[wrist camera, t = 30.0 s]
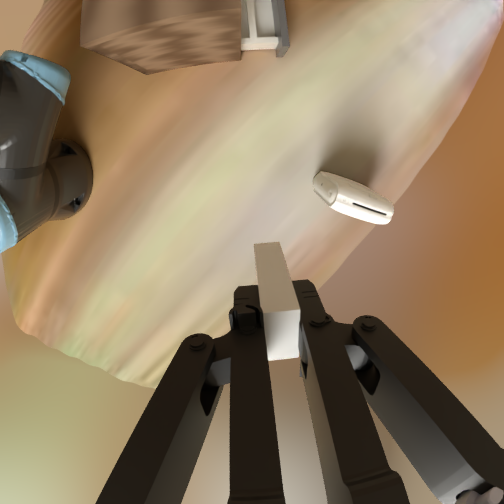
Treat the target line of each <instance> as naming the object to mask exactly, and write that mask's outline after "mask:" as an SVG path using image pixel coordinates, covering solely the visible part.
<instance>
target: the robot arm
mask: <svg viewBox="0 0 504 504" xmlns="http://www.w3.org/2000/svg"><path fill="white" fill-rule="evenodd" d="M70 81H71V76H70V73H69V71H68V70H67V69H66V68H64V67H62V66H60V65H58V64H56V63H53V62H51V61H48V60H46V59H43V58H40V57H37V56H33V55H28V54H25V53H22V52H18V51H13V50H8V51H5V52H4V53H3V54H2V56H0V253H1V252H3V251H5V250H6V249H8V248H9V247H13V246H14V245H15V244H16V243H18V242H19V241H20V240H22V239H23V238H24V237H26V236H27V235H28V234H30V233H31V232H32V231H34V230H35V229H36V228H38V227H39V226H41V225H42V224H44V223H45V222H46V221H52V220H64V219H67V218H69V217H71V216H73V215H75V214H76V213H78V212H79V211H80V210H81V209H82V208H83V207H84V206H85V205H86V203H87V201H88V199H89V197H90V194H91V191H92V184H93V174H92V168H91V164H90V161H89V158H88V156H87V155H86V153H85V151H84V150H83V149H82V148H81V147H80V146H79V145H78V144H77V143H75V142H74V141H72V140H69V139H56V140H52V139H53V135H54V131H55V128H56V124H57V121H58V118H59V115H60V111H61V108H62V105H64V104H65V97H66V93H67V90H68V87H69V84H70ZM254 252H255V265H256V277H257V285H250V286H238V288H237V289H236V290H235V292H234V307H233V308H232V309H231V310H230V312H229V320H230V326H231V330H230V331H229V332H228V333H227V334H225V335H224V336H221V337H219V338H215V339H212V337H210V336H209V335H207V334H203V333H201V334H193V335H190V336H188V337H187V338H185V339H184V340H183V342H182V343H181V345H180V347H179V348H178V350H177V352H176V354H175V356H174V357H173V359H172V361H171V363H170V365H169V366H168V368H167V370H166V372H165V374H164V376H163V377H162V379H161V381H160V383H159V385H158V386H157V388H156V390H155V392H154V394H153V396H152V398H151V400H150V401H149V403H148V405H147V407H146V408H145V410H144V412H143V414H142V416H141V418H140V420H139V421H138V423H137V425H136V427H135V429H134V431H133V433H132V434H131V437H130V438H129V440H128V442H127V444H126V446H125V448H124V450H123V452H122V453H121V455H120V457H119V459H118V461H117V463H116V465H115V467H114V469H113V470H112V473H111V474H110V476H109V478H108V480H107V482H106V484H105V486H104V488H103V490H102V492H101V494H100V496H99V498H98V500H97V502H96V504H181V502H182V499H183V496H184V494H185V491H186V488H187V486H188V483H189V481H190V478H191V475H192V473H193V470H194V467H195V465H196V462H197V459H198V457H199V454H200V451H201V448H202V446H203V443H204V440H205V437H206V435H207V432H208V429H209V426H210V423H211V421H212V418H213V415H214V412H215V409H216V407H217V404H218V401H219V398H220V396H221V393H222V390H223V386H224V385H225V384H228V383H230V496H229V499H228V503H227V504H286V503H285V497H284V492H283V484H282V475H281V467H280V458H279V449H278V441H277V432H276V423H275V415H274V406H273V398H272V389H271V381H270V372H269V364H268V361H269V360H279V359H288V358H297V357H299V353H300V357H301V362H300V377H302V376H303V381H304V386H305V389H306V395H307V400H308V404H309V408H310V413H311V419H312V423H313V428H314V433H315V438H316V443H317V447H318V453H319V458H320V463H321V468H322V474H323V479H324V484H325V489H326V495H327V501H328V504H410V503H409V499H408V496H407V493H406V490H405V486H404V483H403V481H402V478H401V477H400V475H399V474H398V473H397V472H395V471H393V470H391V469H390V467H389V465H388V462H387V459H386V456H385V453H384V450H383V447H382V444H381V441H380V439H379V435H378V432H377V430H376V427H375V424H374V421H373V418H372V416H371V413H370V410H369V407H368V405H367V402H368V404H369V405H370V406H371V408H372V409H373V411H374V412H375V413H376V415H377V416H378V418H379V419H380V420H381V422H382V423H383V424H384V426H385V427H386V429H387V430H388V431H389V433H390V434H391V435H392V437H393V438H394V439H395V441H396V442H397V444H398V445H399V447H400V448H401V449H402V451H403V452H404V454H405V455H406V457H407V458H408V459H409V461H410V462H411V464H412V465H413V466H414V468H415V469H416V471H417V472H418V473H419V475H420V476H421V478H422V479H423V480H424V482H425V483H426V485H427V486H428V487H429V489H430V490H431V491H432V493H433V494H434V495H435V496H436V497H437V499H438V500H440V501H441V502H442V503H443V504H504V449H502V448H500V446H499V445H498V444H497V443H496V442H495V440H494V439H493V438H492V437H491V436H490V435H489V433H488V432H487V431H486V430H485V429H484V428H483V427H482V425H481V424H480V423H479V422H478V421H477V420H476V419H475V418H474V416H472V414H471V413H470V412H469V411H468V410H467V409H466V408H465V407H464V405H463V404H462V403H461V402H460V401H459V400H458V399H457V398H456V397H455V396H454V395H453V394H452V392H451V391H450V390H449V389H448V388H447V387H446V386H445V385H444V384H443V383H442V382H441V381H440V380H439V379H438V378H437V377H436V375H435V374H434V373H432V371H431V370H430V369H429V368H428V367H427V366H426V365H425V364H424V363H423V362H422V361H421V360H420V359H419V358H418V357H417V356H416V355H415V354H414V353H413V352H412V351H411V350H410V349H409V348H408V347H407V346H406V345H405V344H404V343H403V342H402V341H401V340H400V339H399V338H398V337H397V336H396V335H395V334H394V333H393V332H392V331H391V330H390V329H389V328H388V327H387V326H386V325H385V324H384V323H383V322H382V321H381V320H380V319H378V318H376V317H374V316H367V315H364V316H360V317H358V318H356V319H355V320H354V322H353V324H343V323H338V322H335V321H334V320H333V318H332V317H331V316H330V315H328V314H327V313H326V312H325V310H324V307H323V305H322V303H321V300H320V298H319V295H318V293H317V291H316V288H315V286H314V284H313V283H312V282H310V281H309V280H308V279H307V280H297V281H291V277H290V274H289V271H288V268H287V264H286V261H285V258H284V255H283V252H282V249H281V246H280V242H272V243H260V244H254ZM366 401H367V402H366Z"/></svg>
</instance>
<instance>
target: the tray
mask: <svg viewBox="0 0 504 504" xmlns="http://www.w3.org/2000/svg"><path fill="white" fill-rule="evenodd" d="M241 8H242V10H241V50H258V49H276V57H283V56H284V54H285V53H286V51H287V50H288V48H289V47H290V44H289V35H288V27H287V18H286V11H285V3H284V0H241Z"/></svg>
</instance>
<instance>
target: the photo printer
mask: <svg viewBox="0 0 504 504" xmlns="http://www.w3.org/2000/svg"><path fill="white" fill-rule="evenodd" d="M313 187H314V192H315V193H316V194H317V195H318V196H319V197H320V198H321V199H322V200H323V201H324V202H325V203H326V204H327V205H328V206H329V207H331V208H332V209H334V210H336V211H338V212H341V213H343V214H346V215H349V216H351V217H354V218H357V219H361V220H364V221H367V222H371V223H375V224H387V223H388V222H389V221H390V220H391V217H392V215H393V213H394V207H393V204H392V202H391V201H389V200H388V199H387V198H385V197H383V196H382V195H380V194H378V193H376V192H375V191H373V190H371V189H370V188H368V187H366V186H364V185H362V184H360V183H358V182H355V181H353V180H350V179H347V178H344V177H341V176H338V175H335V174H332V173H329V172H323V171H320V172H319V173H318V174H317V175H316V176H315V177H314V180H313Z"/></svg>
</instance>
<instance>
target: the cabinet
mask: <svg viewBox="0 0 504 504" xmlns="http://www.w3.org/2000/svg"><path fill="white" fill-rule="evenodd" d="M241 10H242V8H241V0H83V2H82V12H81V27H80V46H81V47H84V48H86V49H89V50H91V51H94V52H96V53H99V54H101V55H104V56H106V57H108V58H111V59H113V60H115V61H118V62H120V63H122V64H124V65H126V66H129V67H131V68H133V69H135V70H137V71H139V72H141V73H143V74H146V75H149V74H153V73H158V72H162V71H167V70H172V69H178V68H183V67H189V66H196V65H203V64H210V63H218V62H228V61H239V60H241Z"/></svg>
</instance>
